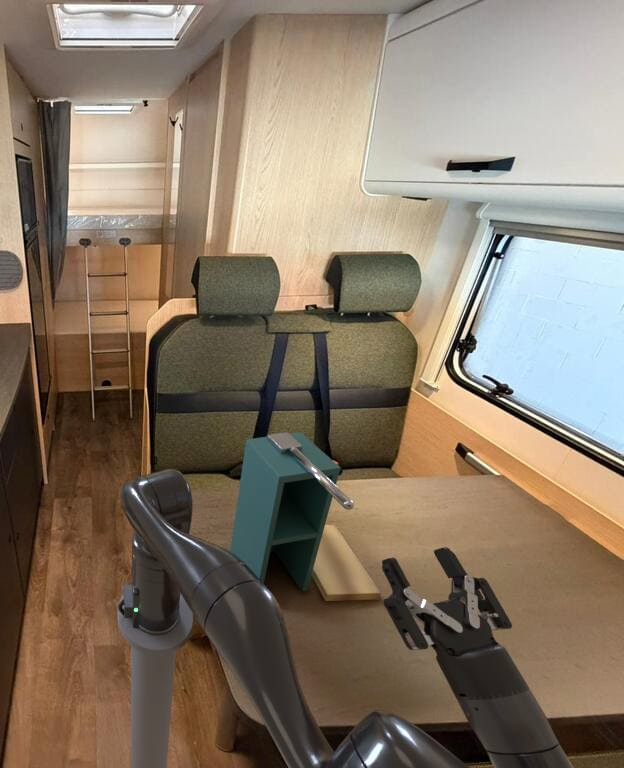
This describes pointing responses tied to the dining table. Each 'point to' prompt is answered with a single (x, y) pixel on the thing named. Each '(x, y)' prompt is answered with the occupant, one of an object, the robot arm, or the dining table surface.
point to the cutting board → (341, 570)
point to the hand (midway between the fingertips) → (414, 553)
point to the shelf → (281, 508)
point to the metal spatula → (307, 465)
